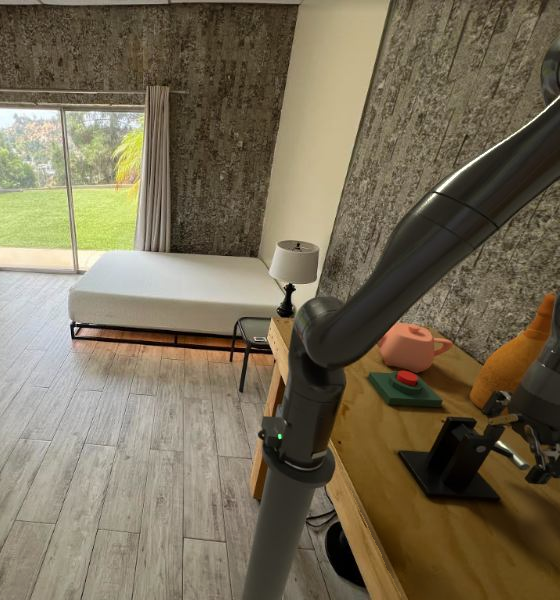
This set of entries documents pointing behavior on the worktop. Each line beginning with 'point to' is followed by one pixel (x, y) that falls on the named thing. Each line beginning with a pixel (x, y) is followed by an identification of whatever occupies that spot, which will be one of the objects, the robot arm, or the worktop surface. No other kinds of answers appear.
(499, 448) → the lever
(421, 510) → the worktop surface
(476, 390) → the wine bottle
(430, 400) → the button block
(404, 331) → the teapot
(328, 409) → the robot arm
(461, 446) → the bracket
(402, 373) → the button
